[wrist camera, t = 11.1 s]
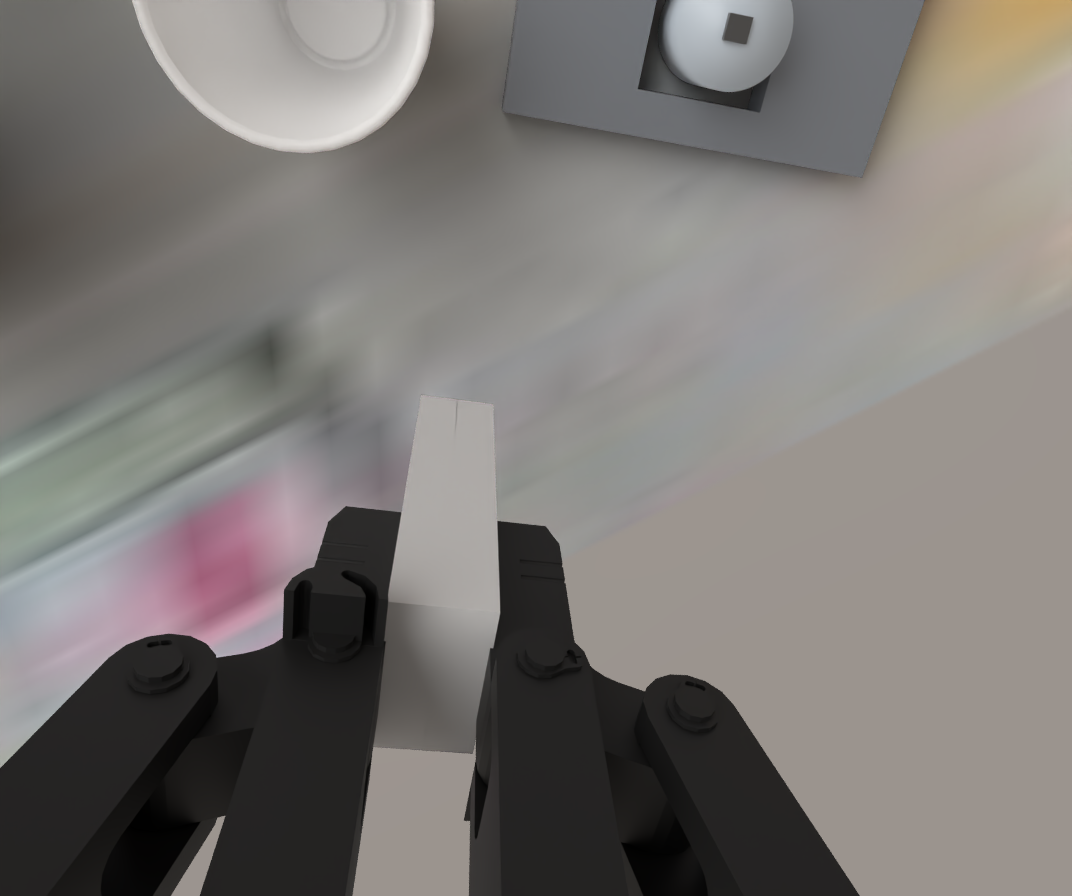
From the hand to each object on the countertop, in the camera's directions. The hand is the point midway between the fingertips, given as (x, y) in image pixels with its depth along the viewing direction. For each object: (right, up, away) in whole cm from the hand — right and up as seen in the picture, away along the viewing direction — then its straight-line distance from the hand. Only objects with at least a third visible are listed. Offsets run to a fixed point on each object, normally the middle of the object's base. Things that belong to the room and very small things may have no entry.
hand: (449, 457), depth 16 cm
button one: (+10, +20, +20) cm, 30 cm away
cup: (-7, +20, +19) cm, 29 cm away
